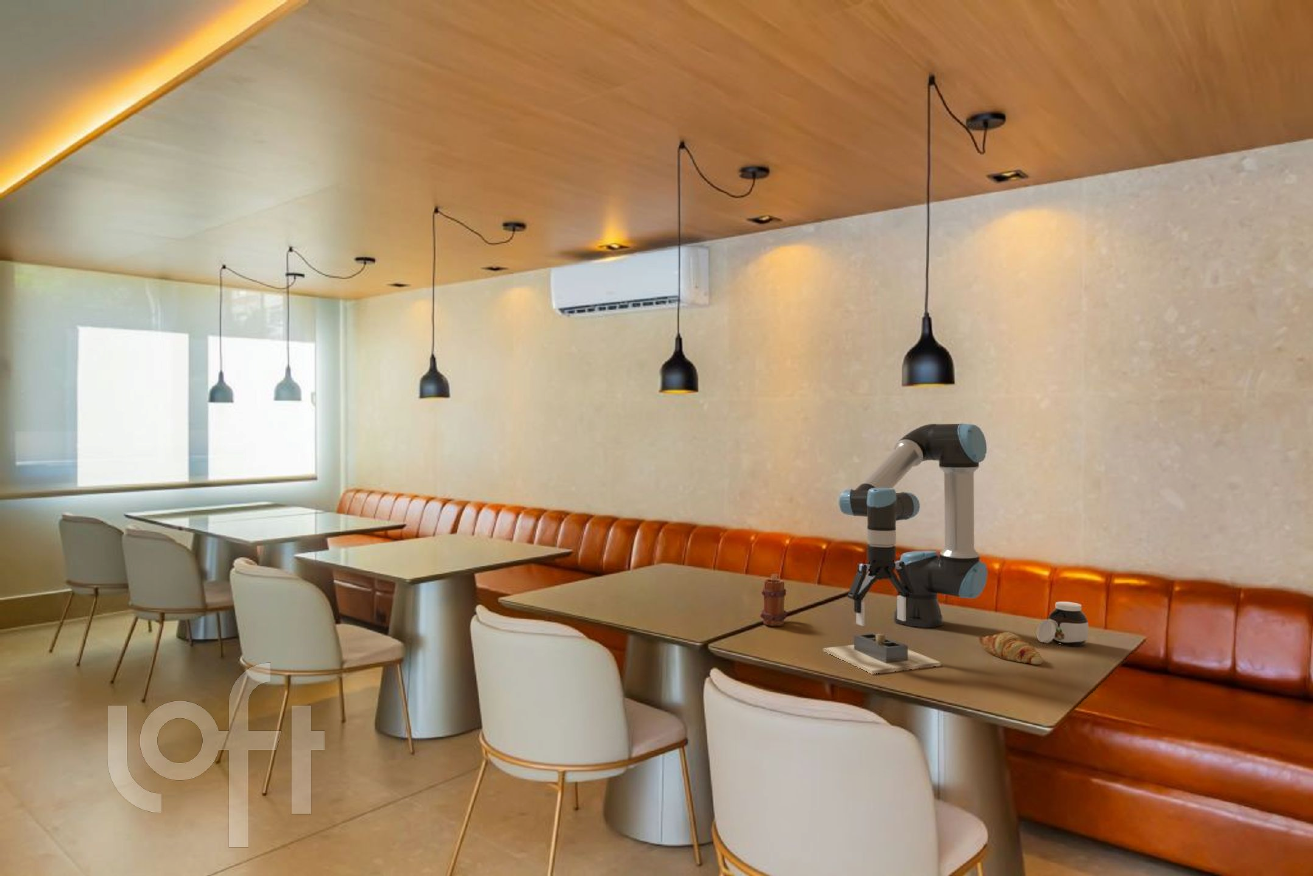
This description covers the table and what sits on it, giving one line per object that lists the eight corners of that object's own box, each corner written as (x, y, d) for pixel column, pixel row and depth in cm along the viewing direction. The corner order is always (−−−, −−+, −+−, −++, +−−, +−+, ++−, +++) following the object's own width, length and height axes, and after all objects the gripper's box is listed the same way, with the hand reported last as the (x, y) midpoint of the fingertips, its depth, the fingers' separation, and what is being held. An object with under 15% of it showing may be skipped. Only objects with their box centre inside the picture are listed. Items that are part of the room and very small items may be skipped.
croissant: (1049, 679, 209) (1059, 651, 211) (1025, 665, 206) (1036, 637, 207) (986, 656, 229) (996, 631, 230) (963, 643, 225) (974, 617, 226)
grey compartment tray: (907, 660, 209) (907, 645, 209) (886, 663, 207) (886, 648, 206) (874, 647, 222) (874, 633, 222) (854, 649, 220) (854, 635, 220)
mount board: (887, 644, 229) (887, 622, 229) (940, 665, 208) (940, 641, 208) (822, 651, 221) (823, 628, 220) (871, 674, 200) (872, 649, 200)
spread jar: (1092, 645, 230) (1092, 606, 230) (1069, 650, 224) (1069, 610, 224) (1053, 636, 240) (1053, 598, 240) (1030, 641, 234) (1031, 602, 234)
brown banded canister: (785, 629, 246) (786, 581, 246) (759, 627, 247) (760, 580, 247) (787, 618, 260) (788, 573, 260) (762, 617, 262) (763, 571, 261)
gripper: (909, 540, 222) (909, 614, 223) (834, 545, 213) (834, 623, 213) (927, 544, 215) (927, 621, 216) (851, 549, 206) (851, 630, 206)
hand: (881, 622), depth 215 cm, fingers open, 13 cm apart
